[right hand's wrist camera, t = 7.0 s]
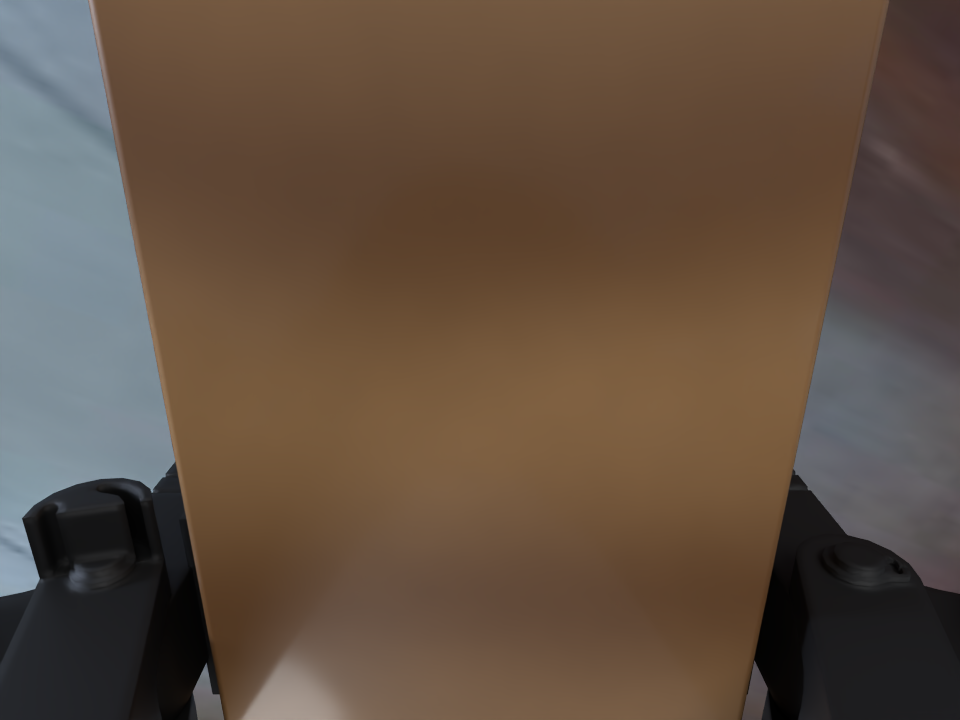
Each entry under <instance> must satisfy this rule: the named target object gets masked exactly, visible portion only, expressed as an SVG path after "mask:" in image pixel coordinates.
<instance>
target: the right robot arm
mask: <svg viewBox="0 0 960 720" xmlns="http://www.w3.org/2000/svg"><path fill="white" fill-rule="evenodd" d="M153 490H154V491H153V493H151V490H150V489H149V488H148V487H147V486H145V485H144V484H143V483H141V482H140V481H135V480H130V479H125V478H115V479H99V480H95V481H90V482H85V483H81V484H77V485H74V486H71V487H69V488H66V489H64V490H61V491H58V492H56V493H53V494H52V495H50V496H49V497H47V498H45V499H44V500H42V501H40V502H39V503H37V504H36V505H34V506H33V507H32V508H31V509H30V510H29V512H28V513H27V514H26V515H25V516H24V517H23V518H22V520H23V523H24V526H25V530H26V533H27V537H28V540H29V543H30V547H31V550H32V554H33V557H34V560H35V564H36V567H37V570H38V574H39V577H40V580H39V582H38V584H37V586H36V589H34V590H30V591H27V592H23V593H18V594H13V595H8V596H3V597H0V720H198V719H197V712H196V706H195V701H194V696H193V690H194V688H195V685H196V683H197V681H198V679H199V677H200V675H201V673H202V671H203V669H204V666H205V664H206V662H207V667H208V672H209V677H210V682H211V687H212V693H213V694H220V693H219V688H218V683H217V677H216V672H215V667H214V662H213V656H212V651H211V646H210V640H209V635H208V630H207V625H206V619H205V614H204V609H203V604H202V598H201V593H200V588H199V582H198V577H197V572H196V567H195V561H194V556H193V551H192V546H191V540H190V535H189V530H188V524H187V519H186V514H185V509H184V503H183V498H182V493H181V487H180V482H179V477H178V472H177V466H176V462H175V463H174V464H173V465H172V467H171V468H170V469H169V470H168V472H167V473H166V477H163V478H162V479H161V480H160V482H159V483H158V484H157V485H156V486H155V488H154V489H153ZM754 660H755V662H756V664H757V666H758V668H759V670H760V673H761V675H762V677H763V679H764V681H765V683H766V685H767V687H768V691H767V696H766V701H765V706H764V711H763V715H762V720H960V594H957V593H952V592H947V591H942V590H938V589H934V588H930V587H926V586H924V585H923V583H922V581H921V579H920V577H919V576H918V575H917V573H916V572H915V571H914V569H913V568H912V567H911V565H910V564H909V563H907V562H906V561H905V560H903V559H902V558H901V557H899V556H898V555H896V554H895V553H894V552H892V551H891V550H888V549H886V548H884V547H882V546H880V545H877V544H875V543H873V542H871V541H868V540H864V539H860V538H856V537H852V536H848V535H847V534H846V533H845V532H844V531H843V530H842V528H841V527H840V526H839V525H838V523H837V522H836V521H835V520H834V518H833V517H832V516H831V515H830V514H829V512H828V511H827V510H826V509H825V507H824V506H823V505H822V504H821V503H820V501H819V500H818V499H817V498H816V496H815V495H814V494H813V493H812V492H811V490H808V489H807V485H806V484H805V483H804V482H803V481H802V479H801V478H800V477H799V476H798V475H795V471H794V469H793V471H792V476H791V481H790V486H789V491H788V496H787V501H786V505H785V510H784V515H783V520H782V525H781V530H780V535H779V540H778V544H777V549H776V554H775V559H774V564H773V569H772V574H771V579H770V583H769V588H768V593H767V598H766V603H765V608H764V613H763V617H762V622H761V627H760V632H759V637H758V642H757V647H756V652H755V656H754ZM753 664H754V661H753ZM752 669H753V666H752ZM751 674H752V671H751ZM750 680H751V676H750ZM749 685H750V681H749ZM748 690H749V686H748ZM748 690H747V694H748Z"/></svg>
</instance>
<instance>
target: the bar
mask: <svg viewBox="0 0 960 720" xmlns="http://www.w3.org/2000/svg"><path fill="white" fill-rule="evenodd" d="M88 2H89V7H90V13H91V18H92V23H93V29H94V34H95V39H96V44H97V50H98V55H99V60H100V65H101V71H102V76H103V81H104V87H105V92H106V97H107V102H108V108H109V113H110V118H111V123H112V129H113V134H114V139H115V145H116V150H117V155H118V160H119V166H120V171H121V176H122V182H123V187H124V192H125V197H126V203H127V208H128V213H129V218H130V224H131V229H132V234H133V240H134V245H135V250H136V255H137V261H138V266H139V271H140V276H141V282H142V287H143V292H144V298H145V303H146V308H147V313H148V319H149V324H150V329H151V334H152V340H153V345H154V350H155V356H156V361H157V366H158V371H159V377H160V382H161V387H162V393H163V398H164V403H165V408H166V414H167V419H168V424H169V429H170V435H171V440H172V445H173V451H174V456H175V461H176V466H177V472H178V477H179V482H180V487H181V493H182V498H183V503H184V509H185V514H186V519H187V524H188V530H189V535H190V540H191V546H192V551H193V556H194V561H195V567H196V572H197V577H198V582H199V588H200V593H201V598H202V604H203V609H204V614H205V619H206V625H207V630H208V635H209V640H210V646H211V651H212V656H213V662H214V667H215V672H216V677H217V683H218V688H219V693H220V699H221V704H222V709H223V714H224V720H742V715H743V710H744V705H745V700H746V695H747V690H748V686H749V681H750V676H751V671H752V666H753V661H754V656H755V652H756V647H757V642H758V637H759V632H760V627H761V622H762V617H763V613H764V608H765V603H766V598H767V593H768V588H769V583H770V579H771V574H772V569H773V564H774V559H775V554H776V549H777V544H778V540H779V535H780V530H781V525H782V520H783V515H784V510H785V505H786V501H787V496H788V491H789V486H790V481H791V476H792V471H793V467H794V462H795V457H796V452H797V447H798V442H799V437H800V432H801V428H802V423H803V418H804V413H805V408H806V403H807V398H808V393H809V389H810V384H811V379H812V374H813V369H814V364H815V359H816V355H817V350H818V345H819V340H820V335H821V330H822V325H823V320H824V316H825V311H826V306H827V301H828V296H829V291H830V286H831V282H832V277H833V272H834V267H835V262H836V257H837V252H838V247H839V243H840V238H841V233H842V228H843V223H844V218H845V213H846V208H847V204H848V199H849V194H850V189H851V184H852V179H853V174H854V170H855V165H856V160H857V155H858V150H859V145H860V140H861V135H862V131H863V126H864V121H865V116H866V111H867V106H868V101H869V97H870V92H871V87H872V82H873V77H874V72H875V67H876V62H877V58H878V53H879V48H880V43H881V38H882V33H883V28H884V23H885V19H886V14H887V9H888V4H889V0H88Z"/></svg>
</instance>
